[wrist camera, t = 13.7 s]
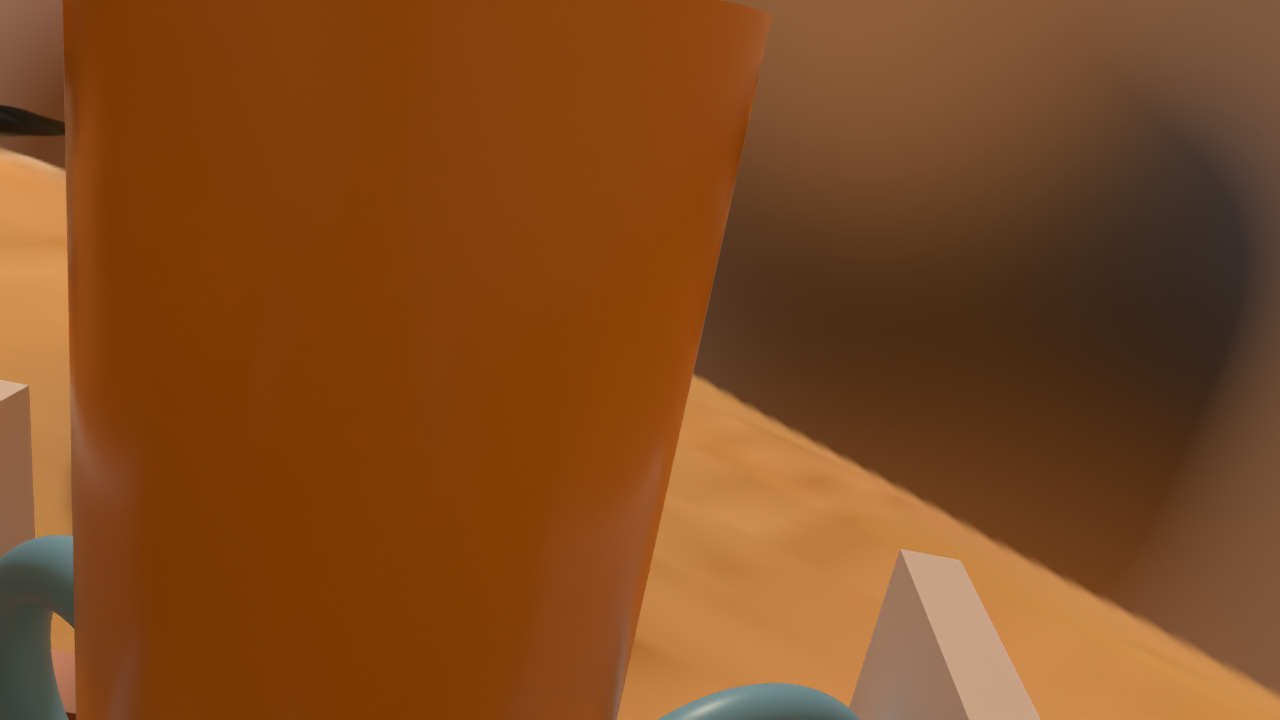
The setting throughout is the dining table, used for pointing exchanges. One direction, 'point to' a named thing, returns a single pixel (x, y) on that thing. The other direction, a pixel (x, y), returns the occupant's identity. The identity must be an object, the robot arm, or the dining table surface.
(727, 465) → the dining table surface
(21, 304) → the dining table surface
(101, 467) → the orange post with rings
